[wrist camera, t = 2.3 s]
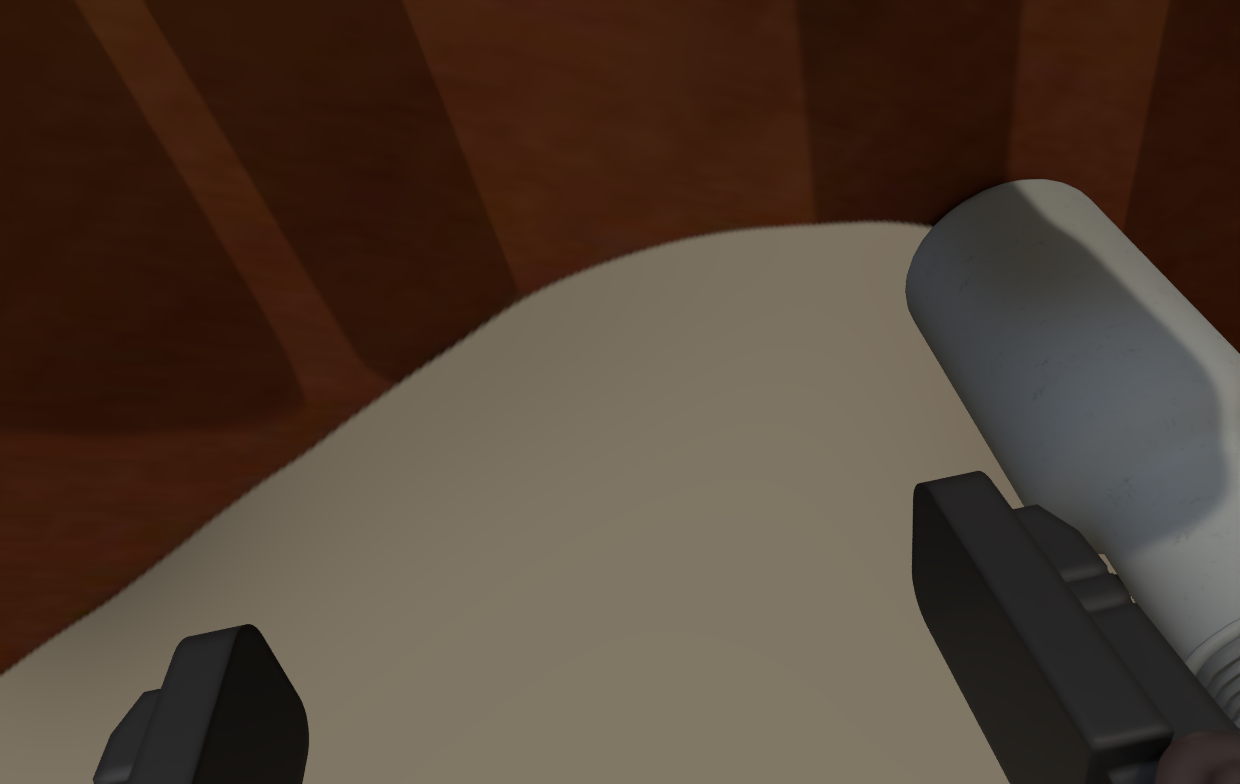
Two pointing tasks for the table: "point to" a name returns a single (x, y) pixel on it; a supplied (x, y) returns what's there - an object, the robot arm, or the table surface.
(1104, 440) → the water bottle
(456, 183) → the table surface
